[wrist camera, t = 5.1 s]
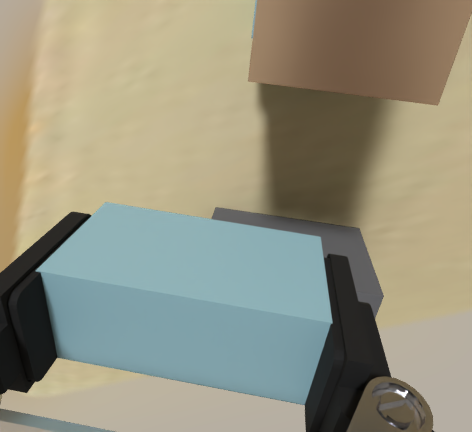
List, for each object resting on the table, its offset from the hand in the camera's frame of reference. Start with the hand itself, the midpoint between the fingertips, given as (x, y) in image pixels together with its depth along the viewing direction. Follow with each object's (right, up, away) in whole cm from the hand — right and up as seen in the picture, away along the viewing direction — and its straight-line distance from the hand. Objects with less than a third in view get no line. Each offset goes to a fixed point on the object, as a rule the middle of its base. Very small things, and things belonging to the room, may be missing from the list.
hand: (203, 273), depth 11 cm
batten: (0, 0, +1) cm, 1 cm away
